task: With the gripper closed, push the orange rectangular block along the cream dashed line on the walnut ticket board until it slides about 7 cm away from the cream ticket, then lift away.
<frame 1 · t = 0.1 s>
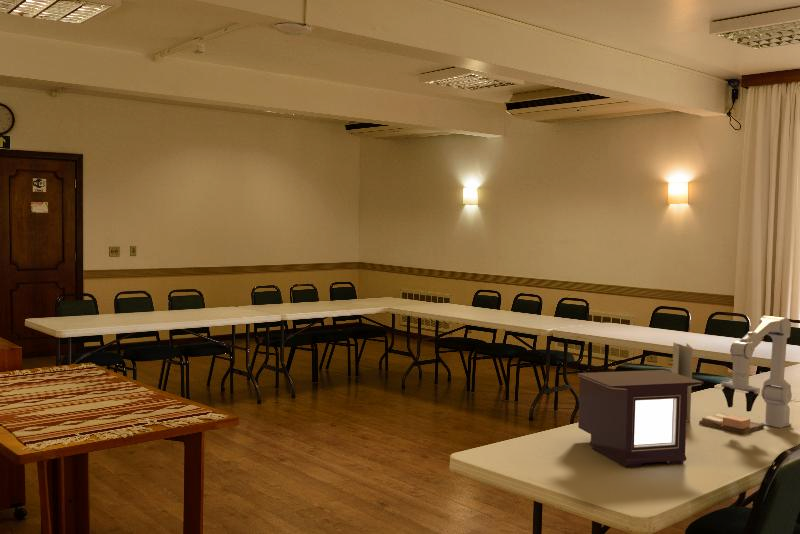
hand: (739, 409, 297), 10 cm above the table, fingers open, 7 cm apart
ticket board: (731, 426, 311), on the table
orange rectangular block: (736, 421, 305), point 3 cm above the table, slide at 0.0 cm
brochure: (680, 417, 324), on the table
brown box television: (627, 452, 274), on the table
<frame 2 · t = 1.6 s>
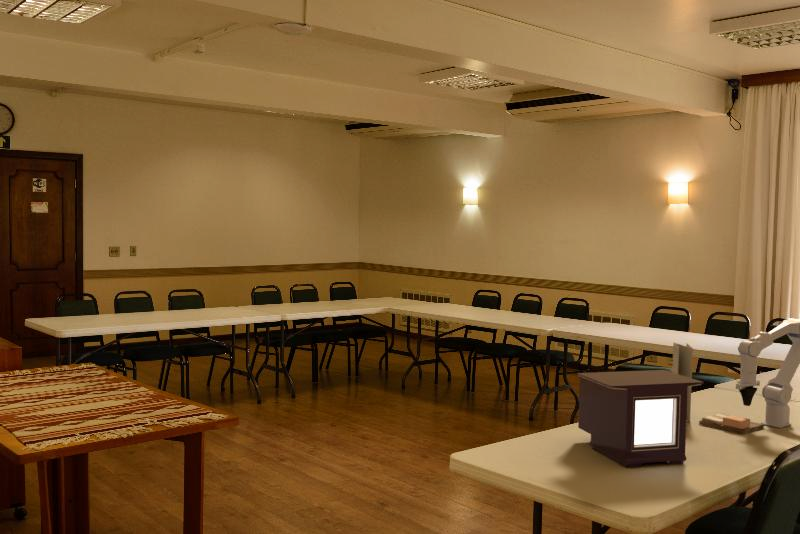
hand: (747, 405, 309), 9 cm above the table, fingers closed
nothing on the table moved.
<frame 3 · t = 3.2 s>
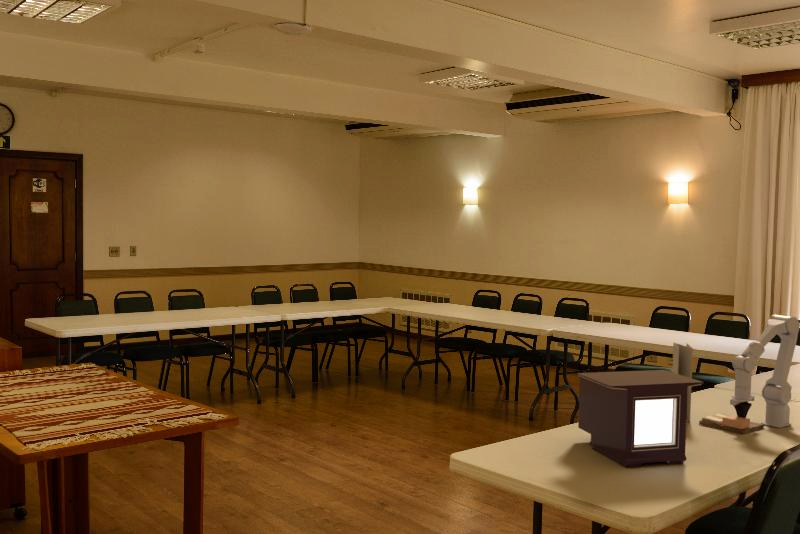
hand: (741, 421, 307), 3 cm above the table, fingers closed
orange rectangular block: (736, 422, 305), point 3 cm above the table, slide at 0.3 cm, touching gripper
everything else where it was.
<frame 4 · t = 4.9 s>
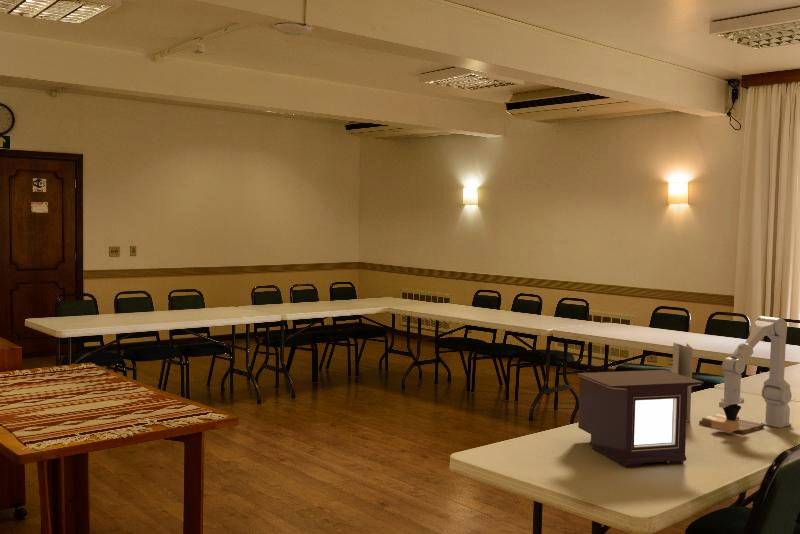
hand: (730, 423, 302), 3 cm above the table, fingers closed
orange rectangular block: (725, 424, 300), point 3 cm above the table, slide at 8.1 cm, touching gripper
everything else where it was.
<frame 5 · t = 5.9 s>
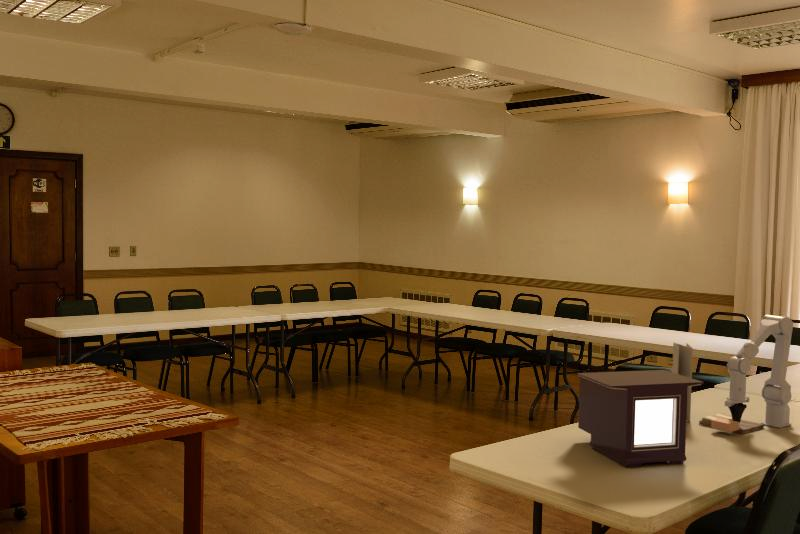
hand: (736, 422, 305), 3 cm above the table, fingers closed
orange rectangular block: (725, 424, 300), point 3 cm above the table, slide at 8.1 cm
everything else where it was.
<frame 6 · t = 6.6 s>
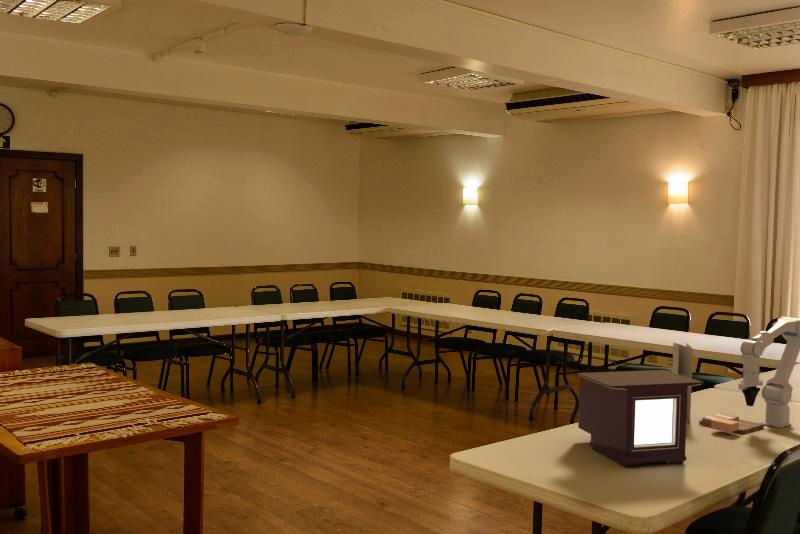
hand: (750, 405, 306), 9 cm above the table, fingers closed
nothing on the table moved.
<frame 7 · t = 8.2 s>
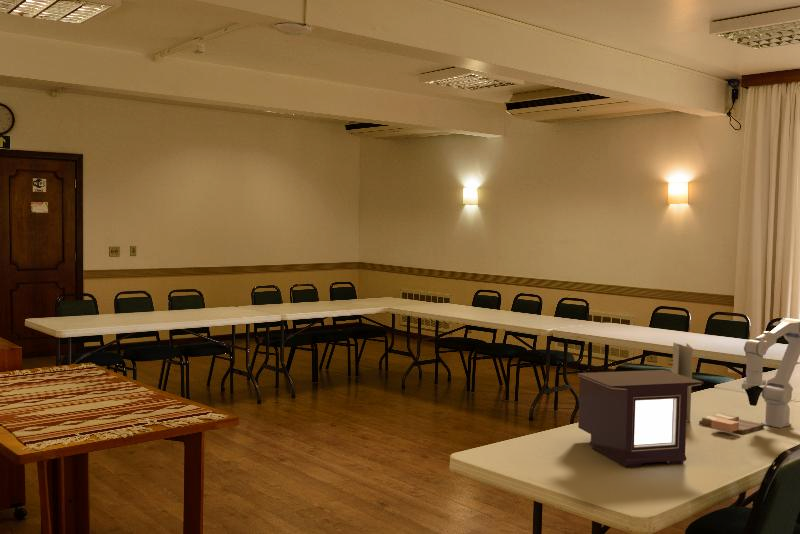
hand: (753, 405, 307), 9 cm above the table, fingers closed
nothing on the table moved.
at the end: orange rectangular block slide at 8.1 cm; brochure moved 0.2 cm from its start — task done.
